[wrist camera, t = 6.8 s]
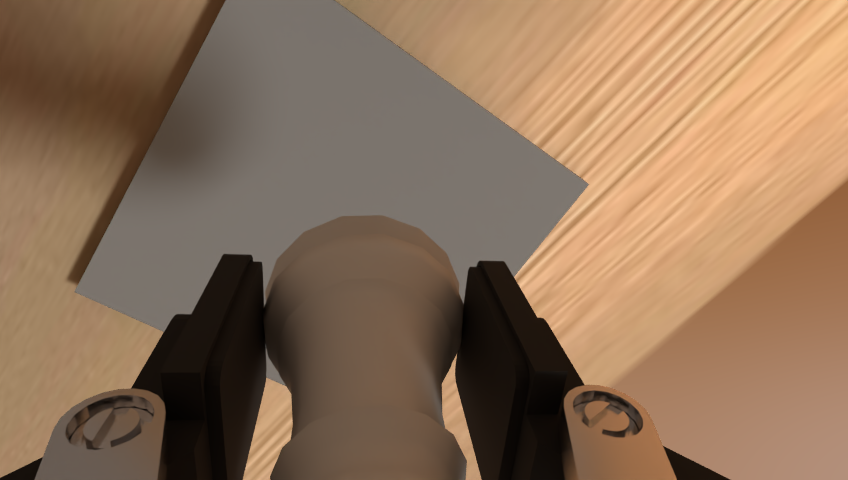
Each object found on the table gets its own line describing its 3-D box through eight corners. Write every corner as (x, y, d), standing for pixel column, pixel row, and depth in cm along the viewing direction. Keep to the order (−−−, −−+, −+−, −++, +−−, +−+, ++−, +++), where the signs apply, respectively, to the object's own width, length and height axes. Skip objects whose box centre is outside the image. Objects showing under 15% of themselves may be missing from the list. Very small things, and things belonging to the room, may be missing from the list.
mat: (258, -55, 17) (255, -57, 16) (583, 179, 21) (588, 184, 21) (81, 284, 20) (74, 292, 20) (387, 422, 25) (388, 431, 24)
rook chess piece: (226, 276, 12) (34, 682, 5) (389, 167, 12) (447, 442, 4) (343, 399, 14) (332, 832, 7) (490, 310, 13) (652, 676, 6)
